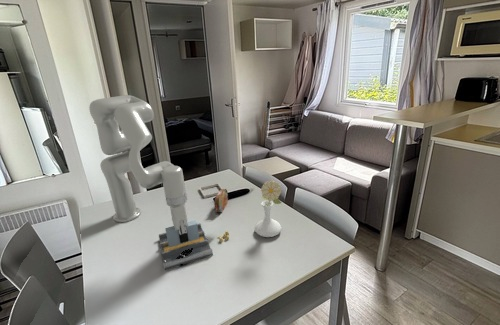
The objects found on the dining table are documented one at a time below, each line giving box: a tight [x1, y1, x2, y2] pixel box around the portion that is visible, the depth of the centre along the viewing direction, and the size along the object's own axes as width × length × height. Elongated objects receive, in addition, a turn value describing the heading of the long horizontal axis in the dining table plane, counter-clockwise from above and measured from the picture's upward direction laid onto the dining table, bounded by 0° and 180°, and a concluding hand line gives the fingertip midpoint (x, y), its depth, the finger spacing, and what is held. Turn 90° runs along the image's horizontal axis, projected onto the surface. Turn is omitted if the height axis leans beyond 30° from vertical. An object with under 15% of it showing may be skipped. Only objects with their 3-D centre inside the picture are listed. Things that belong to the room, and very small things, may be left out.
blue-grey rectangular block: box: [165, 219, 199, 247], centre depth 105 cm, size 3×12×7 cm, turn 113°
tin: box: [213, 188, 229, 213], centre depth 134 cm, size 15×3×8 cm, turn 168°
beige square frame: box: [198, 182, 224, 199], centre depth 153 cm, size 12×12×2 cm
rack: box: [158, 222, 214, 271], centre depth 107 cm, size 20×18×2 cm
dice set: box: [217, 230, 230, 243], centre depth 112 cm, size 5×5×2 cm
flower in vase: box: [254, 179, 282, 238], centre depth 109 cm, size 13×11×25 cm
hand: (183, 238), depth 106 cm, fingers closed on blue-grey rectangular block, 3 cm apart
